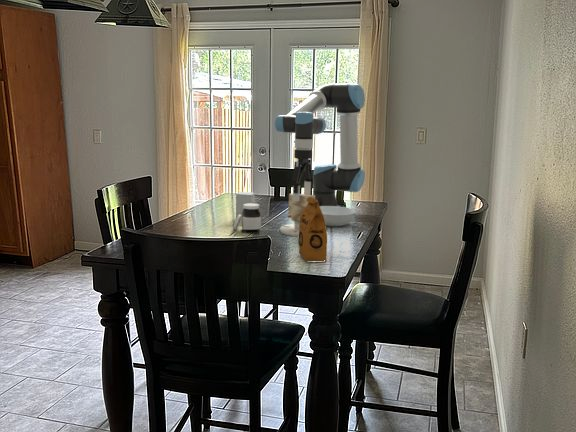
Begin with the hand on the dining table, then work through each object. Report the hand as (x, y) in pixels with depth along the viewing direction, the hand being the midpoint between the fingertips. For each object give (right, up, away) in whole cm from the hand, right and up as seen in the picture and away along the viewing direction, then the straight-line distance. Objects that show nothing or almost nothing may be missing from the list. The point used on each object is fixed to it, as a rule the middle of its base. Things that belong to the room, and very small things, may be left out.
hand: (301, 198), depth 246 cm
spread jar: (-24, -14, +3) cm, 28 cm away
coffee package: (+3, -23, -38) cm, 44 cm away
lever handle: (0, -9, +2) cm, 9 cm away
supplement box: (-26, -9, +25) cm, 38 cm away
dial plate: (0, -14, +3) cm, 15 cm away
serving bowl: (+15, -12, +19) cm, 27 cm away
